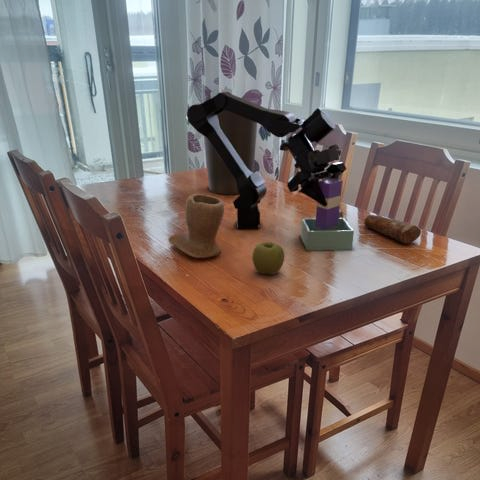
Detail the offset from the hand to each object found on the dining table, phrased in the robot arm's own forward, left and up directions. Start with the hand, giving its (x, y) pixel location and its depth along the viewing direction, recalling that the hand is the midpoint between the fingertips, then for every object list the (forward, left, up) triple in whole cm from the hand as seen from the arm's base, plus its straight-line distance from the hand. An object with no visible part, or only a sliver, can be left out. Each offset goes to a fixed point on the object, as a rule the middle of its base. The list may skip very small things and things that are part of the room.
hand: (332, 203), depth 125 cm
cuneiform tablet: (+5, +17, -12) cm, 21 cm away
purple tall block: (-1, +1, -7) cm, 7 cm away
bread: (+18, +6, -12) cm, 22 cm away
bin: (-1, +1, -11) cm, 11 cm away
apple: (-19, -18, -12) cm, 29 cm away
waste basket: (-26, +61, -12) cm, 67 cm away
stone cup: (-36, -3, -12) cm, 38 cm away
